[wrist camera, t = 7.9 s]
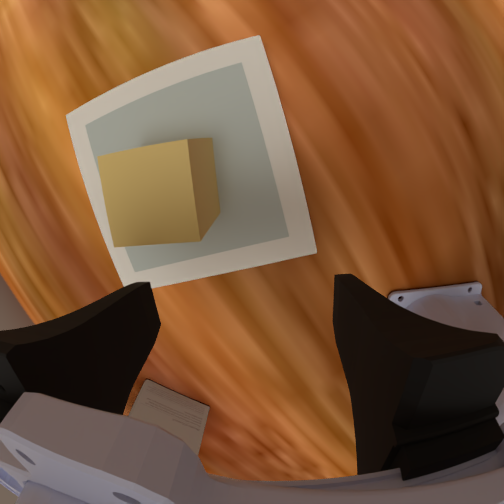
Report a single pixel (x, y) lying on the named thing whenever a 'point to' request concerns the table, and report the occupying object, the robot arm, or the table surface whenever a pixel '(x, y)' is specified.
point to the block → (160, 192)
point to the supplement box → (171, 413)
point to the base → (225, 155)
